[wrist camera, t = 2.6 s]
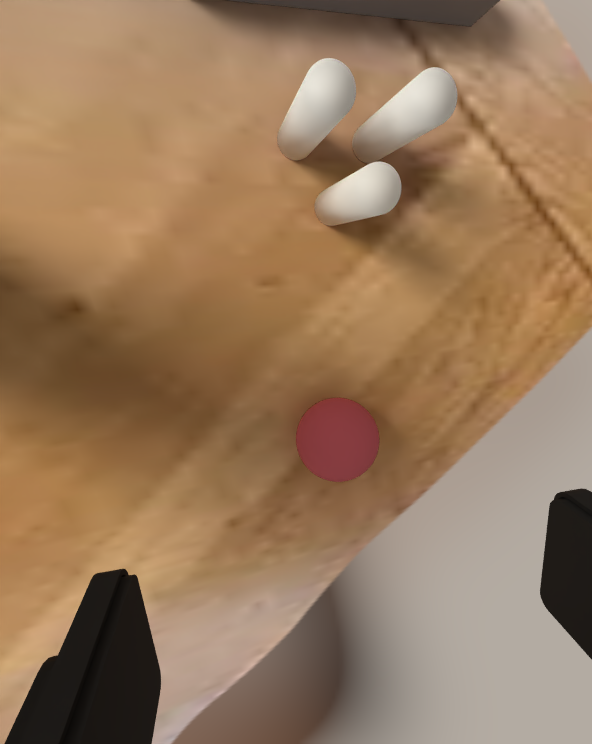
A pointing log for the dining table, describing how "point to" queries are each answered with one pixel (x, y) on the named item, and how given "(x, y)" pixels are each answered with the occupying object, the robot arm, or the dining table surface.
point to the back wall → (398, 8)
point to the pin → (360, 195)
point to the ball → (337, 439)
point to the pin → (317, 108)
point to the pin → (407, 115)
